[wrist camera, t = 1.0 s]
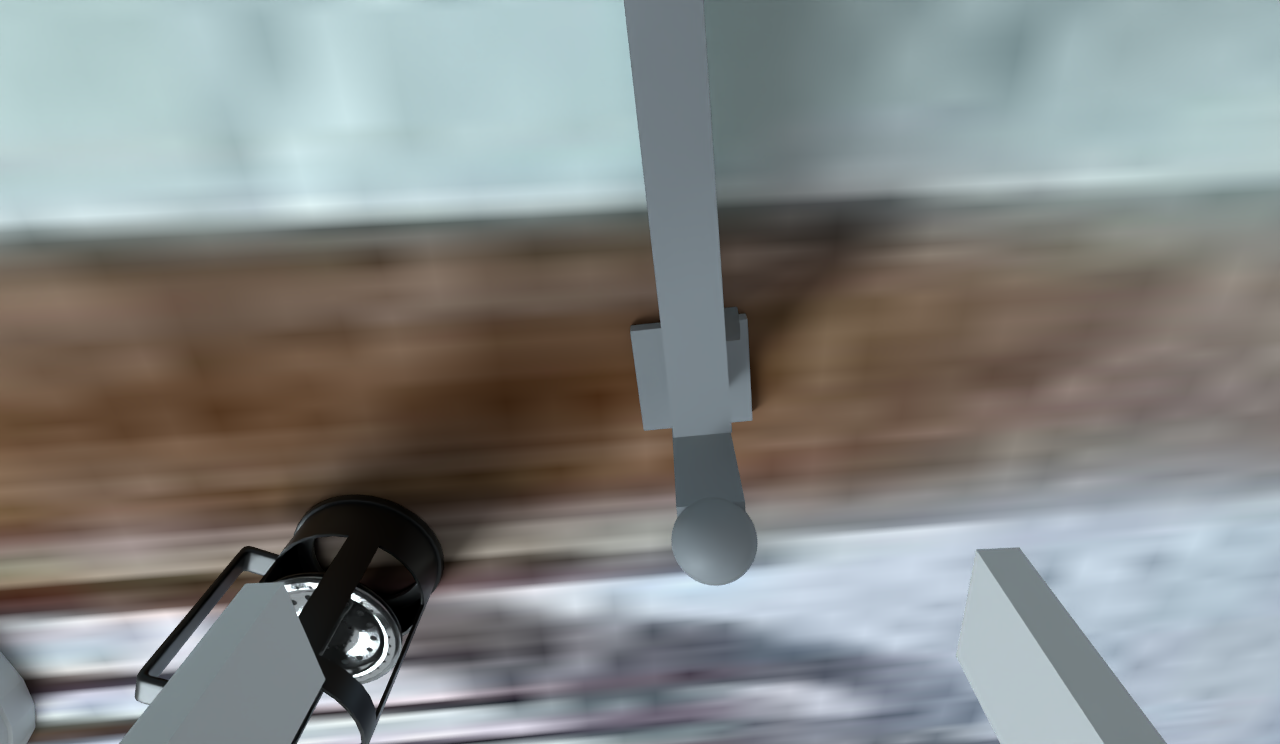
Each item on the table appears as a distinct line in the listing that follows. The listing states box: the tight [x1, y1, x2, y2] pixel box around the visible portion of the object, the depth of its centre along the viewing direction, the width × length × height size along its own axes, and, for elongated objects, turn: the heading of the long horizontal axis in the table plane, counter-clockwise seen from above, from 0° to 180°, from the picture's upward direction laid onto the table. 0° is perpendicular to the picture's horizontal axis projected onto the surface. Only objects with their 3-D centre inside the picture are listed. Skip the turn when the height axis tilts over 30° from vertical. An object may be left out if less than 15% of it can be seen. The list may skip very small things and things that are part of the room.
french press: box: [135, 495, 444, 744], centre depth 30 cm, size 12×9×23 cm
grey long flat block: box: [624, 0, 740, 438], centre depth 23 cm, size 23×3×9 cm, turn 7°
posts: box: [630, 314, 757, 585], centre depth 22 cm, size 34×6×15 cm, turn 7°
